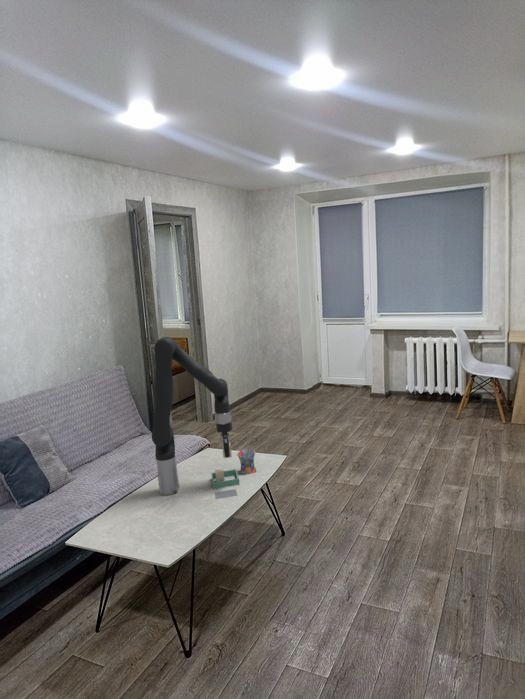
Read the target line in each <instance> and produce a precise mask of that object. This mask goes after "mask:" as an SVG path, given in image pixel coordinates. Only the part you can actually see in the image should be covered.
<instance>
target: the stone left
mask: <svg viewBox="0 0 525 699" xmlns="http://www.w3.org/2000/svg"><path fill="white" fill-rule="evenodd" d="M224 471H225V470H224V468H221V469H215V470H214V473H215V475H216V479H215V482H219V481H226V480H225V477H224Z"/></svg>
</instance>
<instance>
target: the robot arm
mask: <svg viewBox="0 0 525 699" xmlns="http://www.w3.org/2000/svg"><path fill="white" fill-rule="evenodd" d="M153 348H154V349H153V350H154V364H155V371H154V378H153V379H154V381H153V396H152V397H153V401H152V402H153V424H152V431H151V440H152V443H153V444H154V446H155V452H154V453H155V454H154V456H155V462H156V469H157V470H156V471H157V481H158V487H159V488H158V489H159V495H160V496H161V495H162V496H163V495H164V496H170V495H173V494H176V493H178V491H179V490H180V481H179V474H178V468H177V460H176V443H175V435H174V430H173V428H172V426H171V424H170V421H171V420H170V419H171V418H170V417H171V412H172V408H173V402H174V394H175V393H174V392H175V391H174V390H175V388H174V387H175V386H174V385H175V384H174V378H173V372H172V365H173V361H175V362H176V363H178V364H179V365H180V366H181V367H182V368H183V369H184V370H185V371H186V372H187V374H189V375H190V377H192V378H194V379H195V380H197V381H198V382H199V383H201V384H202V385H203V386H204V387H206V389H208V391H209V392H210V393H212V394H213V396H214V402H213V403H214V405H213V406H214V419H215V428H216V432H217V433H219V434H220V437H221V438H220V439H221V445H222V444H223V445H224V451H225V457H230V454H229V449H230V448H229V444H230V445H231V442H230V437H231V436H230V433H229V432H231V431H233V424H232V414H231V409H230V408H231V407H230V402H229V388H228V383H227V381H226V380H225V379H224V378H217V377H216V376H215V375H214V374H213V372H212V371H211V370H209V369H208V368H207V367H205V366H204V365H203V364H202V363H201V362H199V361H197V360H196V358H193V357H192V356H191V355H190V354H188V353H187V352H186V351H185V350H184V349H183V348H181V346H180V345H179V344H178V343H177V342H176V341H175V340H174V339H173V338H171V337H170V336H163V337H161V338H159V339H158V340H157V341H156V342H155V344H154V346H153ZM225 446H228V447H225ZM230 458H231V457H230Z"/></svg>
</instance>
